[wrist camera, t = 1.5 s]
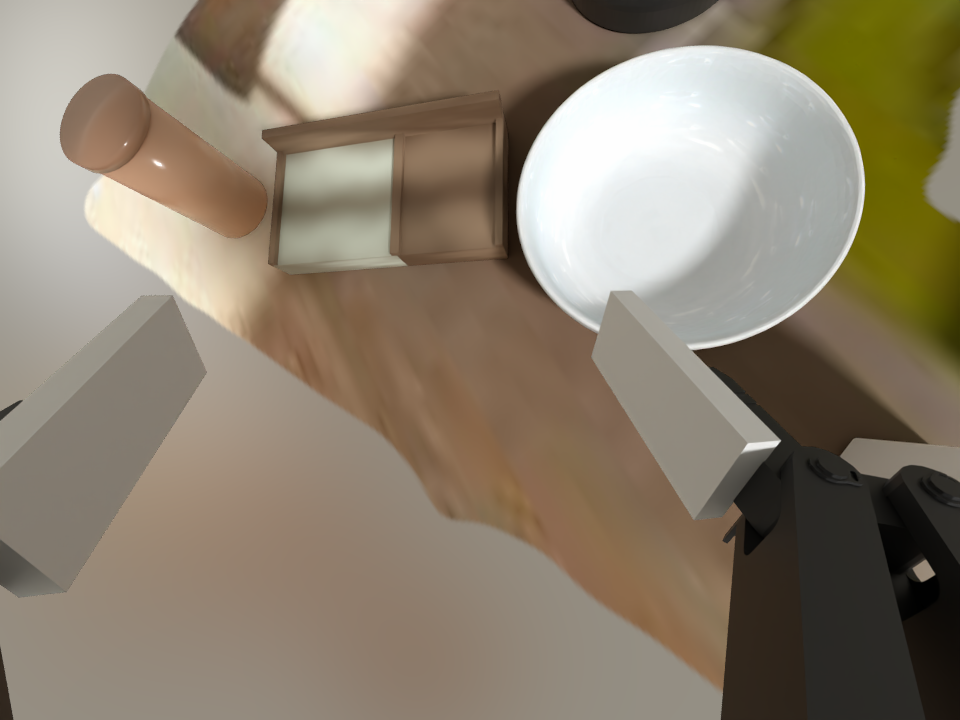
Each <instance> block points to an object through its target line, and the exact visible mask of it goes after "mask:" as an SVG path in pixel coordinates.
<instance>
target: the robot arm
mask: <svg viewBox="0 0 960 720" xmlns="http://www.w3.org/2000/svg"><path fill="white" fill-rule="evenodd" d="M572 1H573V2H574V4H575V6H576V7H577V8H578V9H579V11H580V12H581V13H582V14H583V15H584V16H585V17H587V18H588V19H589V20H591V21H592V22H594V23H596V24H598V25H600V26H602V27H605V28H607V29H610V30H614V31H619V32H626V33H646V32H654V31H659V30H664V29H668V28H671V27H674V26H677V25H679V24H682V23H684V22H686V21H688V20H691V19H692V18H694V17H696V16H698V15H699V14H701V13H703V12H704V11H706V10H707V9H708V8H710V7H711V6H712V5H713V4H715V3H716V2H717V1H718V0H572ZM591 358H592V359H593V361H594V362H595V364H596V366H597V367H598V369H599V370H600V372H601V374H602V375H603V377H604V378H605V380H606V381H607V383H608V385H609V386H610V388H611V389H612V391H613V393H614V394H615V396H616V397H617V399H618V401H619V402H620V404H621V405H622V407H623V408H624V410H625V412H626V413H627V415H628V416H629V418H630V420H631V421H632V423H633V424H634V426H635V427H636V429H637V431H638V432H639V434H640V435H641V437H642V439H643V440H644V442H645V443H646V445H647V447H648V448H649V450H650V451H651V453H652V454H653V456H654V458H655V459H656V461H657V462H658V464H659V466H660V467H661V469H662V470H663V472H664V473H665V475H666V477H667V478H668V480H669V481H670V483H671V485H672V486H673V488H674V489H675V491H676V493H677V494H678V496H679V497H680V499H681V500H682V502H683V504H684V505H685V507H686V508H687V510H688V512H689V513H690V515H691V516H692V518H693V520H700V519H709V518H717V517H722V516H723V515H724V514H725V513H726V511H727V510H728V509H729V507H730V506H731V505H732V503H733V502H734V503H735V504H736V505H737V507H738V508H739V509H740V511H741V512H742V513H743V514H742V515H741V516H740V517H739V519H738V520H737V521H736V522H735V523H734V525H733V526H732V527H731V528H730V530H729V531H728V532H727V533H726V534H725V537H724V539H723V541H724V542H726V543H728V542H729V541H730V540H731V539H732V538H733V536H736V538H735V550H734V563H733V575H732V587H731V600H730V612H729V625H728V637H727V649H726V662H725V674H724V687H723V699H722V711H721V720H960V482H959V481H957V480H956V479H954V478H952V477H950V476H947V475H946V474H944V473H942V472H940V471H936V470H933V469H930V468H927V467H924V466H918V465H908V466H904V467H902V468H901V469H900V470H899V471H898V472H897V473H895V474H894V475H893V476H892V477H891V478H890V479H887V478H882V477H876V476H871V475H866V474H861V473H860V472H859V471H858V470H857V469H856V468H855V467H854V466H852V465H851V464H850V463H848V462H847V461H845V460H844V459H842V458H841V457H839V456H837V455H835V454H833V453H831V452H829V451H826V450H823V449H819V448H816V447H802V446H801V445H800V444H799V443H798V442H797V441H796V440H795V439H794V438H793V437H792V436H791V435H789V434H788V433H787V432H786V431H785V430H784V429H783V428H782V427H781V426H780V425H779V424H778V423H777V422H776V421H775V420H774V419H773V418H772V417H771V416H770V415H769V414H768V413H767V412H766V411H765V410H764V409H763V408H762V407H761V406H760V405H756V402H755V401H754V400H753V399H752V398H751V397H750V396H749V395H748V394H745V391H744V390H743V389H742V388H741V387H740V386H739V385H738V384H737V383H736V382H735V381H734V380H733V379H732V378H730V377H728V376H727V375H725V374H724V373H722V372H720V371H719V370H717V369H715V368H714V367H707V366H706V365H705V364H704V363H703V362H702V360H701V359H700V358H699V357H698V356H697V355H696V354H695V353H694V352H693V351H692V350H691V349H690V348H689V347H688V346H687V345H686V344H685V343H684V342H683V341H682V340H681V339H680V338H679V337H678V336H677V335H676V334H675V333H674V332H673V331H672V330H671V329H670V328H669V327H668V326H667V325H666V324H665V323H664V322H663V321H662V320H661V319H660V318H659V317H658V316H657V315H656V314H655V313H654V312H653V311H652V310H651V309H650V308H649V307H648V306H647V305H646V304H645V303H644V302H643V301H642V300H641V299H640V298H639V297H638V296H637V295H636V294H635V293H634V292H633V291H632V290H628V291H610V295H609V298H608V302H607V305H606V309H605V312H604V315H603V319H602V322H601V326H600V329H599V333H598V336H597V339H596V343H595V346H594V350H593V353H592V357H591ZM206 373H207V371H206V369H205V367H204V365H203V362H202V360H201V358H200V356H199V353H198V352H197V349H196V347H195V344H194V342H193V340H192V338H191V336H190V333H189V331H188V329H187V327H186V324H185V322H184V320H183V318H182V315H181V313H180V311H179V309H178V306H177V304H176V302H175V300H174V297H173V296H172V295H154V296H141V297H140V298H138V299H137V300H136V301H135V302H134V303H133V304H132V305H131V306H129V307H128V308H127V309H126V310H125V311H124V312H123V313H122V314H121V315H119V316H118V317H117V318H116V319H115V320H114V321H113V322H112V323H110V324H109V325H108V326H107V327H106V328H105V329H104V330H103V331H101V332H100V333H99V334H98V335H97V336H96V337H95V338H93V339H92V340H91V341H90V342H89V343H88V344H87V345H86V346H84V347H83V348H82V349H81V350H80V351H79V352H78V353H76V354H75V355H74V356H73V357H72V358H71V359H70V360H69V361H67V362H66V363H65V364H64V365H63V366H62V367H61V368H60V369H59V370H57V371H56V372H55V373H54V374H53V375H52V376H51V377H49V378H48V379H47V380H46V381H45V382H44V383H43V384H42V385H40V386H39V387H38V388H37V389H36V390H35V391H34V392H33V393H31V394H30V395H29V396H28V397H27V398H26V399H25V400H21V401H18V402H16V403H14V404H12V405H11V406H9V407H7V408H5V409H4V410H2V411H0V585H2V586H3V587H5V588H6V589H7V590H9V591H10V592H12V593H13V594H15V595H16V596H17V597H28V596H36V595H45V594H54V593H63V592H67V591H68V589H69V588H70V586H71V585H72V583H73V581H74V580H75V578H76V576H77V575H78V574H79V572H80V570H81V569H82V567H83V566H84V564H85V563H86V561H87V559H88V558H89V556H90V555H91V553H92V552H93V550H94V549H95V547H96V545H97V544H98V542H99V541H100V539H101V538H102V536H103V534H104V533H105V531H106V530H107V528H108V527H109V525H110V523H111V522H112V520H113V519H114V517H115V516H116V514H117V513H118V511H119V509H120V508H121V506H122V505H123V503H124V502H125V500H126V498H127V496H128V495H129V494H130V492H131V491H132V489H133V487H134V486H135V484H136V482H137V481H138V480H139V478H140V476H141V475H142V473H143V472H144V470H145V469H146V467H147V466H148V464H149V462H150V461H151V459H152V458H153V456H154V455H155V453H156V451H157V450H158V448H159V447H160V445H161V444H162V442H163V440H164V439H165V437H166V436H167V434H168V432H169V431H170V429H171V428H172V426H173V425H174V423H175V422H176V420H177V419H178V417H179V415H180V414H181V412H182V411H183V409H184V407H185V406H186V404H187V403H188V401H189V400H190V398H191V397H192V395H193V393H194V392H195V390H196V389H197V387H198V386H199V384H200V382H201V381H202V379H203V378H204V376H205V375H206ZM924 560H927V562H928V563H929V565H930V567H931V568H932V570H933V572H934V573H935V575H934V576H932V577H931V578H929V579H927V580H926V581H923V582H921V581H920V579H919V578H918V577H917V576H916V574H915V572H914V570H913V569H912V568H914V567H915V566H917V565H918V564H920V563H921V562H923V561H924ZM0 720H13V715H12V710H11V704H10V699H9V693H8V687H7V681H6V676H5V670H4V665H3V660H2V654H1V649H0Z"/></svg>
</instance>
